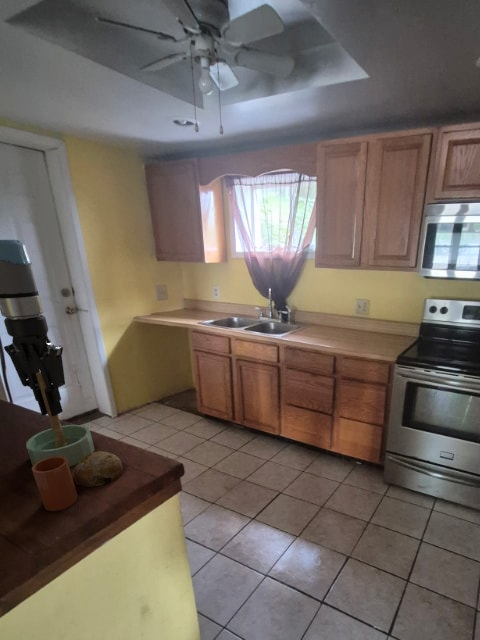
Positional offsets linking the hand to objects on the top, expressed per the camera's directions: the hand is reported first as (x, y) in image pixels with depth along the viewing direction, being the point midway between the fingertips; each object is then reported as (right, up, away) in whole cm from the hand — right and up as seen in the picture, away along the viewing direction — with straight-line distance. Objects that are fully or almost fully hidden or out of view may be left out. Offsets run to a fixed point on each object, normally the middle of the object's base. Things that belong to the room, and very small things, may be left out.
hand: (52, 413), depth 90 cm
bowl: (0, -12, +5) cm, 13 cm away
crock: (+10, -19, -12) cm, 24 cm away
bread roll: (+13, -15, -3) cm, 20 cm away
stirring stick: (0, -11, +5) cm, 12 cm away
